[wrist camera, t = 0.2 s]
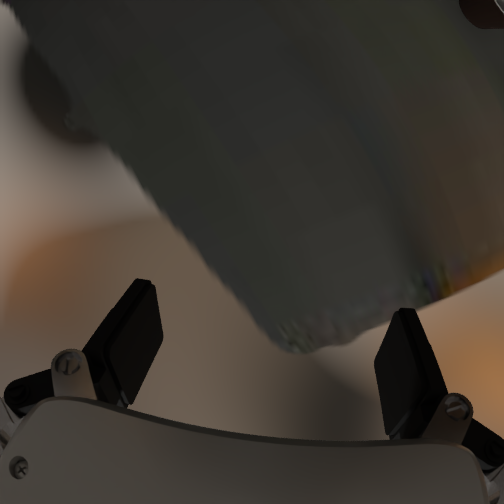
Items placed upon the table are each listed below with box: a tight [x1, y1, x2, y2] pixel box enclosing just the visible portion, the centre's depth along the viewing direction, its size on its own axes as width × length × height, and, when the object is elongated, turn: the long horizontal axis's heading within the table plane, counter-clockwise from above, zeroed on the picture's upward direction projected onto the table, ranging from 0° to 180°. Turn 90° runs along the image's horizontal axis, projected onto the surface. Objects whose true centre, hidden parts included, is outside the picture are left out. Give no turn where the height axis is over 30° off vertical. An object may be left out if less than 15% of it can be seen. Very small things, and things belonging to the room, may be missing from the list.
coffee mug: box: [459, 0, 504, 29], centre depth 17 cm, size 12×9×10 cm
